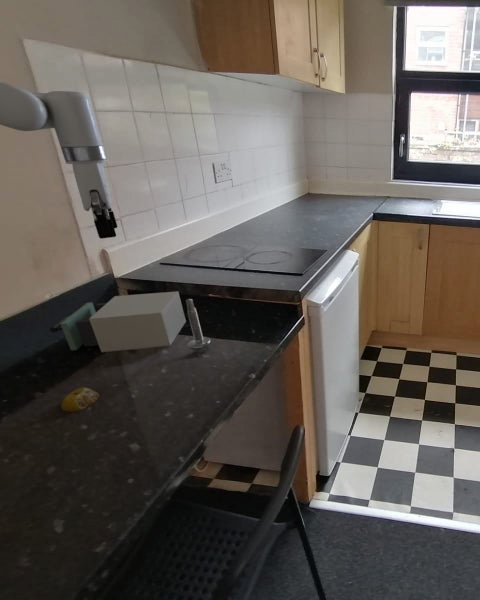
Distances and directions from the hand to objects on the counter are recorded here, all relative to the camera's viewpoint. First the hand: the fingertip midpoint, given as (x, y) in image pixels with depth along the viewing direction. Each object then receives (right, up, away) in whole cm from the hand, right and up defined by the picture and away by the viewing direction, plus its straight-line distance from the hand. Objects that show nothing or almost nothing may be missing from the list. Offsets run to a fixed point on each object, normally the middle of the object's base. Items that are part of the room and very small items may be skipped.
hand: (109, 232), depth 94 cm
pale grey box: (+6, -25, +4) cm, 26 cm away
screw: (+23, -27, -2) cm, 36 cm away
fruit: (+12, -36, -21) cm, 43 cm away
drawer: (-3, -24, +2) cm, 25 cm away
